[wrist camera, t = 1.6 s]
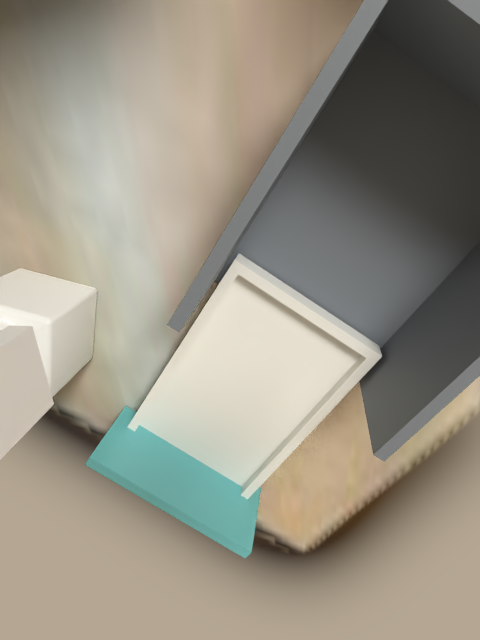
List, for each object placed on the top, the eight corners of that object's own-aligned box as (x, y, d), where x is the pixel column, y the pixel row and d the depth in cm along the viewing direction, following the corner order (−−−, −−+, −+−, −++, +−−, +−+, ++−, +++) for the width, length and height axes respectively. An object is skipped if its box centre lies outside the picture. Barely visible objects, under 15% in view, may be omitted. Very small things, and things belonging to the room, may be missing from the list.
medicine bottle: (20, 266, 35) (-111, 322, 24) (98, 287, 35) (2, 354, 24) (21, 338, 38) (-95, 417, 27) (94, 358, 38) (5, 446, 27)
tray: (121, 412, 40) (85, 464, 33) (226, 243, 31) (204, 269, 25) (255, 493, 41) (245, 558, 35) (390, 351, 33) (408, 402, 26)
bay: (207, 273, 33) (167, 324, 24) (371, 9, 24) (404, -68, 15) (365, 376, 34) (384, 461, 25) (571, 158, 26) (710, 168, 17)
